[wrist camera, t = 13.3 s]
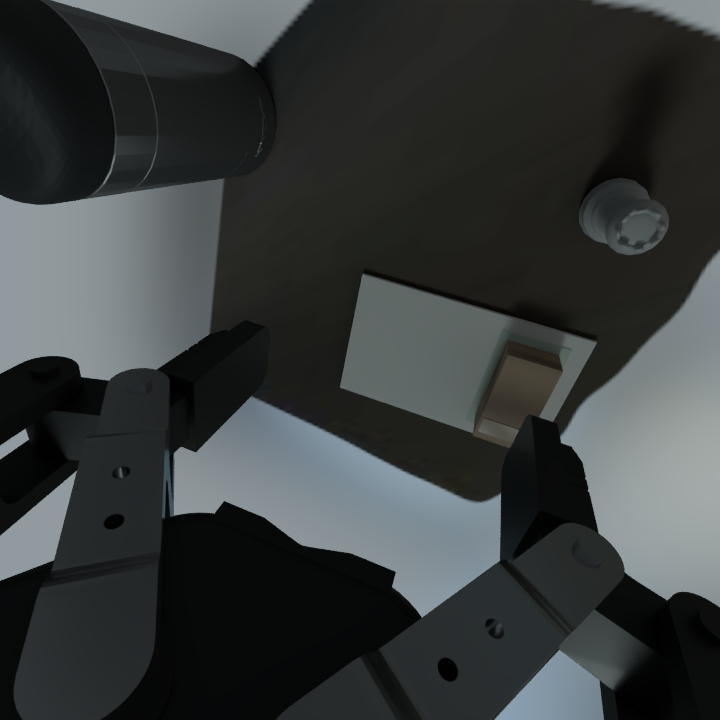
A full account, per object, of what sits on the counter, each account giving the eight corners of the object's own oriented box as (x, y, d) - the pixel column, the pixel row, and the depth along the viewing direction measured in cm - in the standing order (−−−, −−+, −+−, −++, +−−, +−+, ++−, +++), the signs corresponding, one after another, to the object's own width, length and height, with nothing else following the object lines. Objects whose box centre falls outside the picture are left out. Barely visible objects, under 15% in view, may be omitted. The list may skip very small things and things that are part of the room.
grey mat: (341, 385, 46) (339, 387, 45) (363, 273, 39) (362, 274, 38) (534, 451, 42) (534, 454, 42) (595, 340, 35) (596, 343, 35)
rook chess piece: (655, 177, 29) (699, 189, 22) (637, 242, 31) (672, 270, 25) (584, 177, 30) (607, 188, 24) (572, 239, 32) (588, 266, 26)
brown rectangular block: (508, 339, 37) (508, 355, 35) (559, 355, 36) (563, 372, 34) (474, 417, 42) (472, 435, 39) (519, 432, 41) (520, 452, 38)
